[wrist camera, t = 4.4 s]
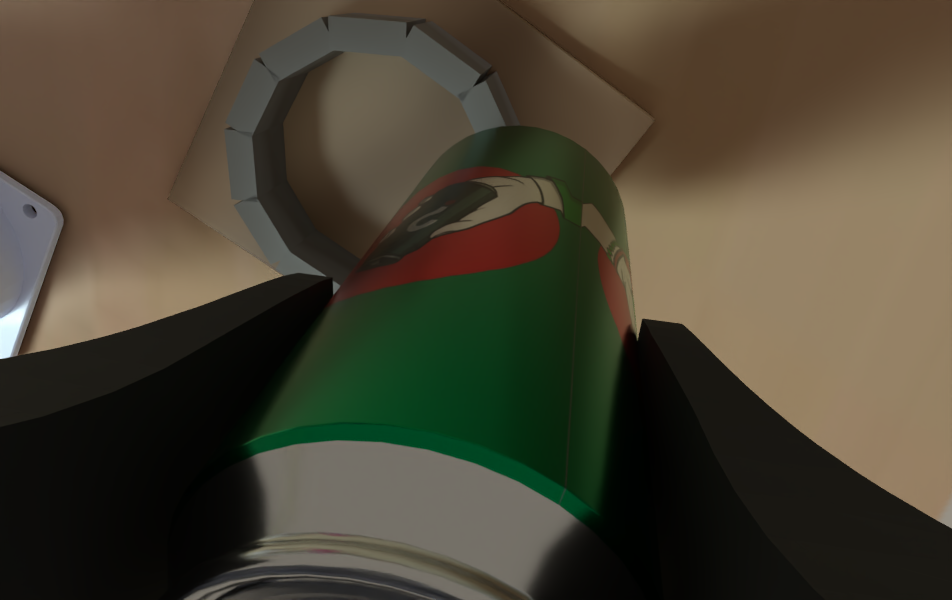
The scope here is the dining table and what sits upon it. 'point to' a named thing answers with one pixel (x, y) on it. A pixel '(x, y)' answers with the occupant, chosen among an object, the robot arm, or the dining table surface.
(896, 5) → the dining table surface
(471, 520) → the soda can
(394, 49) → the can socket
